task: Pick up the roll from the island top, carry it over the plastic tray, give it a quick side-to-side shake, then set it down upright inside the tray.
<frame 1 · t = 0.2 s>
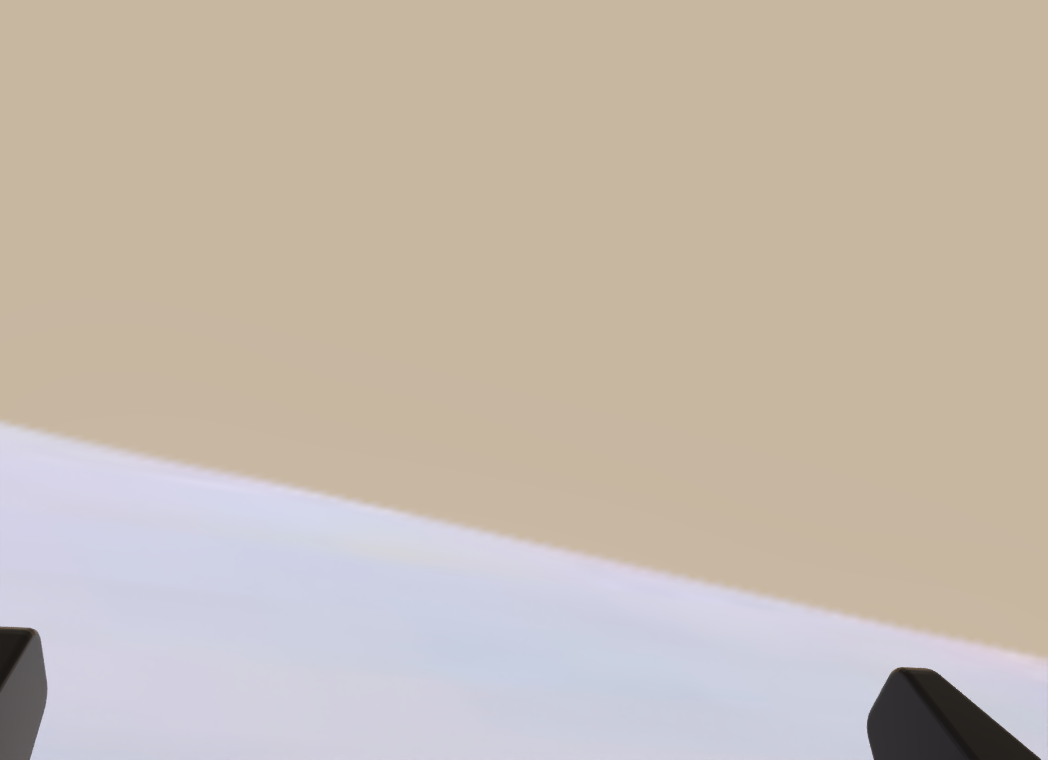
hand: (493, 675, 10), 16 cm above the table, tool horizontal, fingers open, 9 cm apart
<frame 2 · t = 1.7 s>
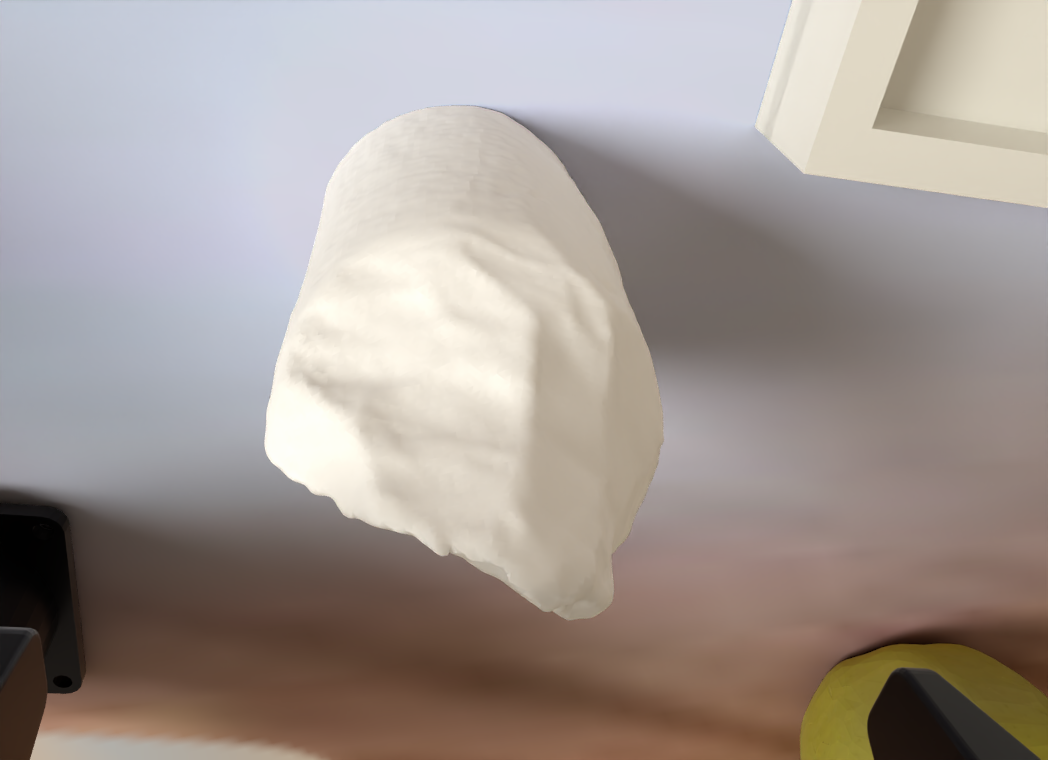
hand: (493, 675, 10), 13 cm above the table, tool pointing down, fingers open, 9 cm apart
apple: (885, 675, 30), on the table
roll: (458, 218, 20), on the table
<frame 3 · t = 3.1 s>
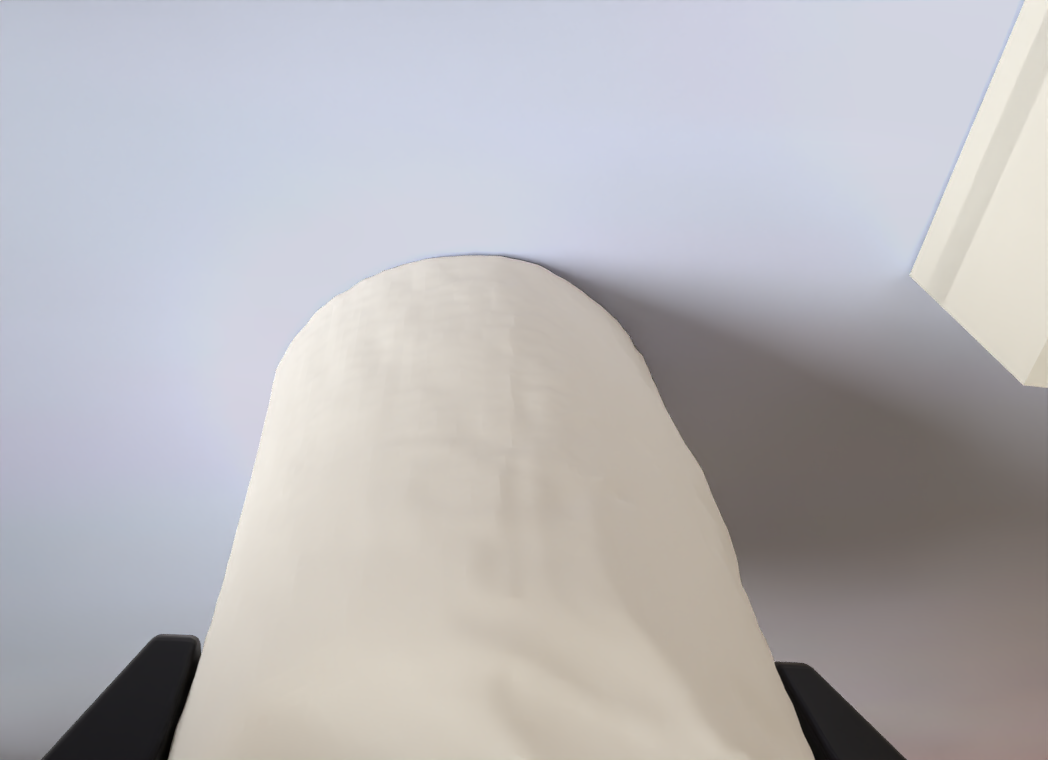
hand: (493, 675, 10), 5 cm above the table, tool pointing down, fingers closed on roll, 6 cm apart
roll: (471, 402, 14), on the table, touching gripper
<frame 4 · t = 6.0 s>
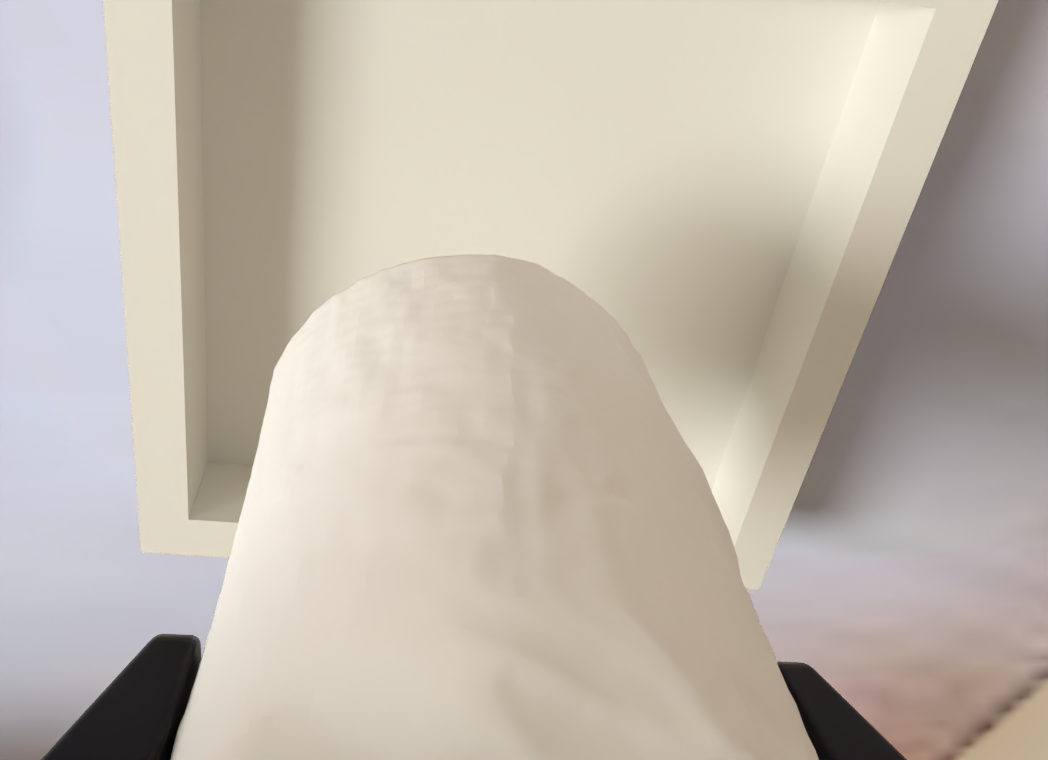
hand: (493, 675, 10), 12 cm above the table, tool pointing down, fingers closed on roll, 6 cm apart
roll: (470, 402, 14), point 7 cm above the table, touching gripper
tray: (504, 232, 20), on the table
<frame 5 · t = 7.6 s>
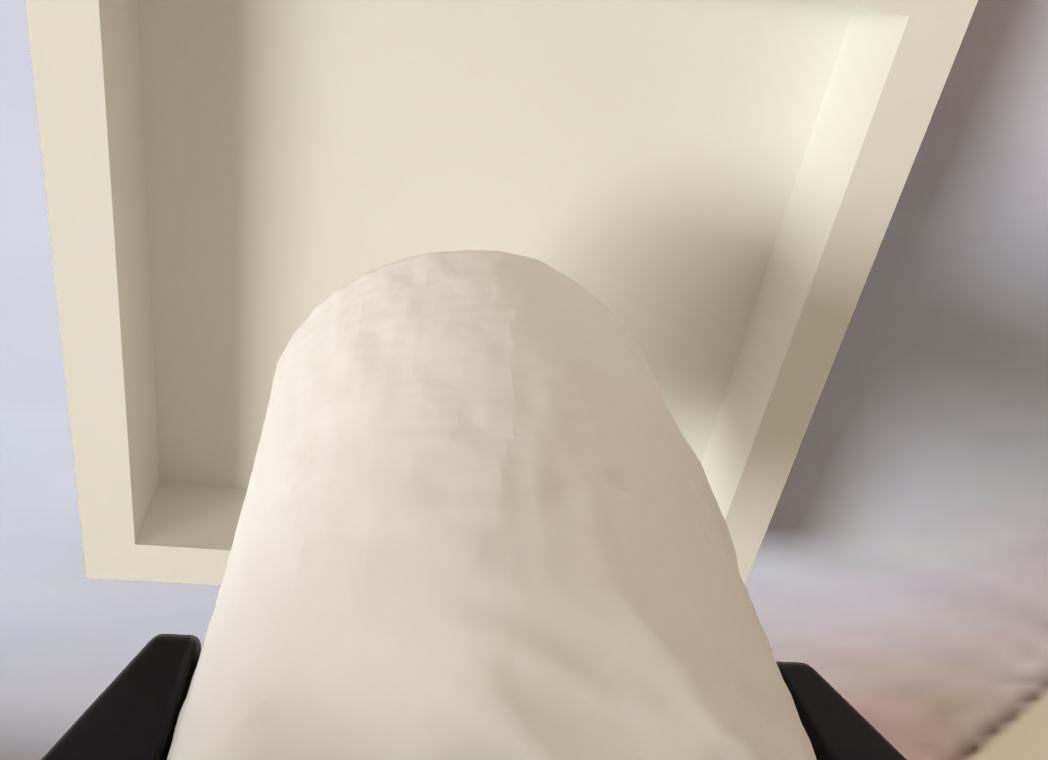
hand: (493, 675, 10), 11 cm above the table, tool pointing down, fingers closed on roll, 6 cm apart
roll: (471, 397, 14), point 6 cm above the table, touching gripper
tray: (466, 245, 19), on the table
when the fingers open (8 cm above the table, at t = 8.9 s): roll drops 2 cm, resting on tray.
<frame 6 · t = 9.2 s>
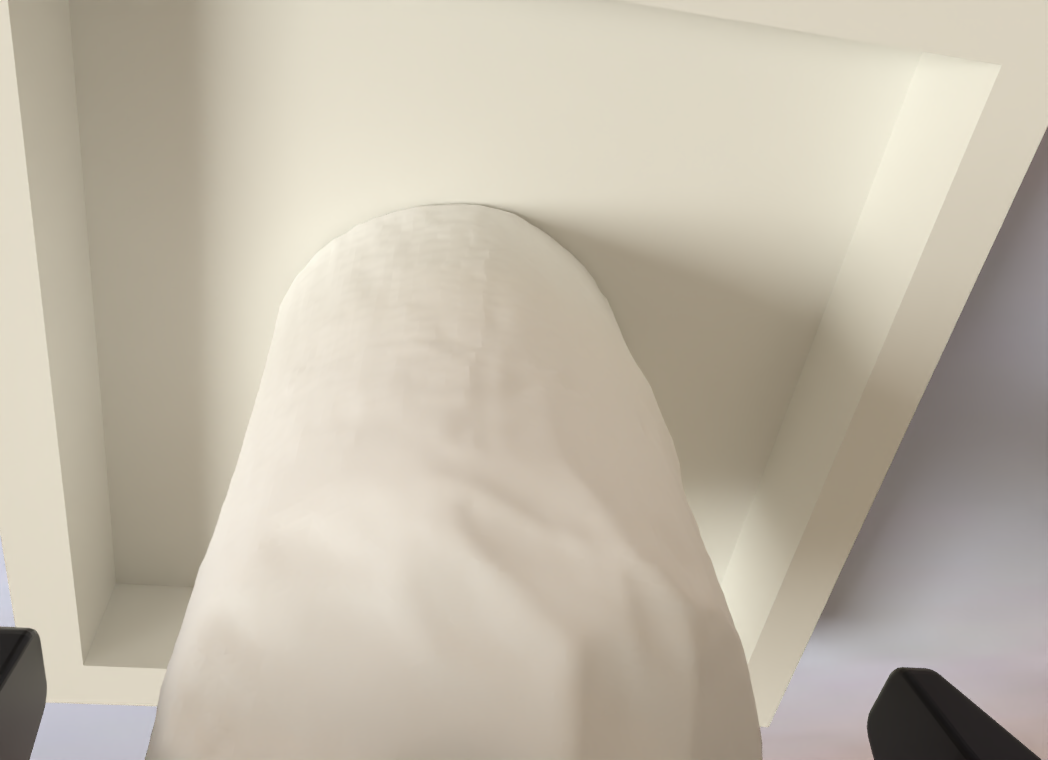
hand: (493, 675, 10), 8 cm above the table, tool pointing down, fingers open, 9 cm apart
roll: (454, 341, 16), point 1 cm above the table, touching tray
tray: (466, 316, 16), on the table
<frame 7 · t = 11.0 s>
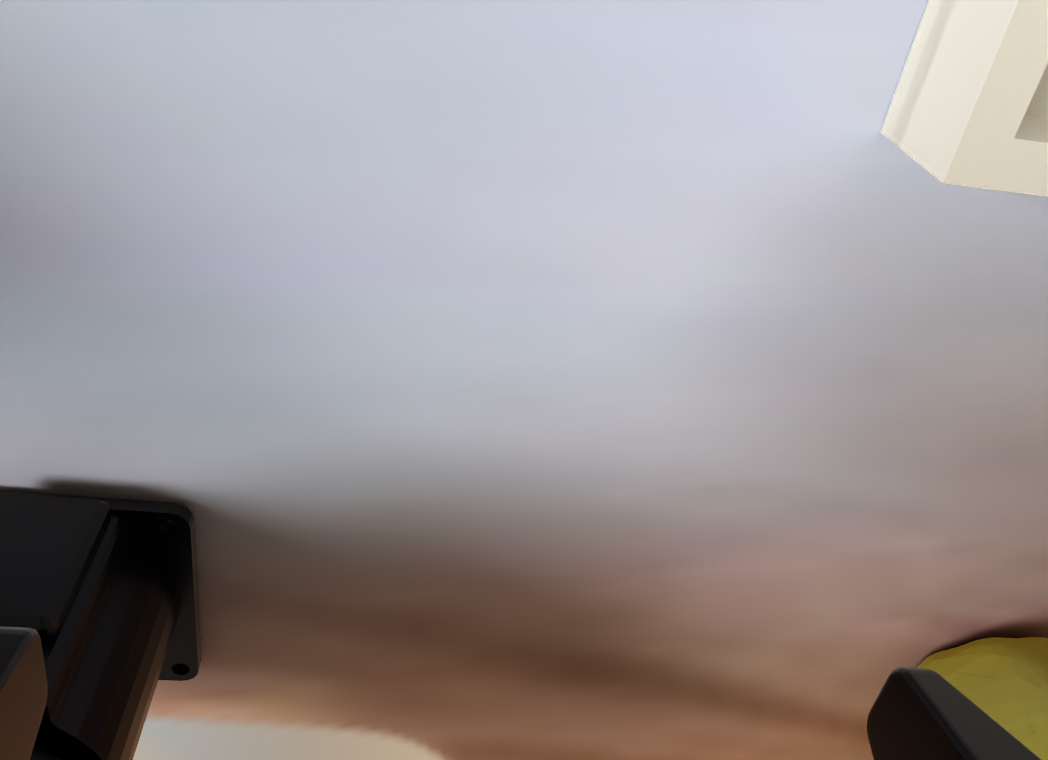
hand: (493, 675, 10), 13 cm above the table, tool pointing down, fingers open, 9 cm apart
apple: (974, 667, 31), on the table
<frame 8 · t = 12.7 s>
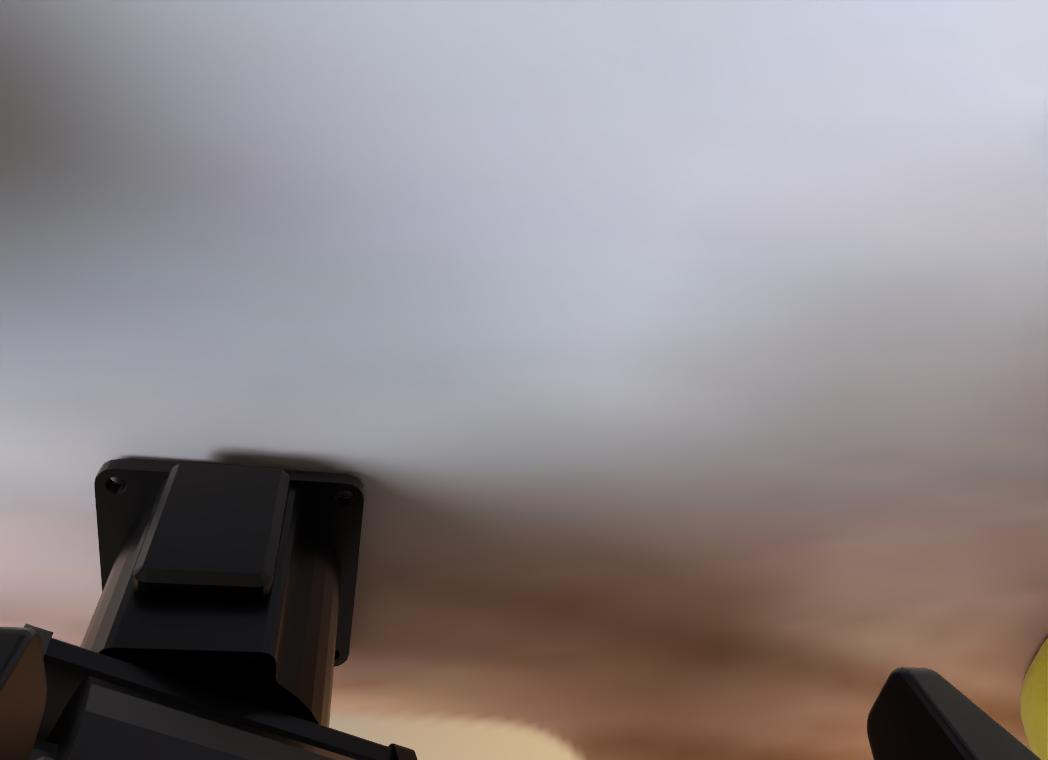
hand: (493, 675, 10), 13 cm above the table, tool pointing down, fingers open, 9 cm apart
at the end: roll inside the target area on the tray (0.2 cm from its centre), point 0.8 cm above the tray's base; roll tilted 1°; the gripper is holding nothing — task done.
